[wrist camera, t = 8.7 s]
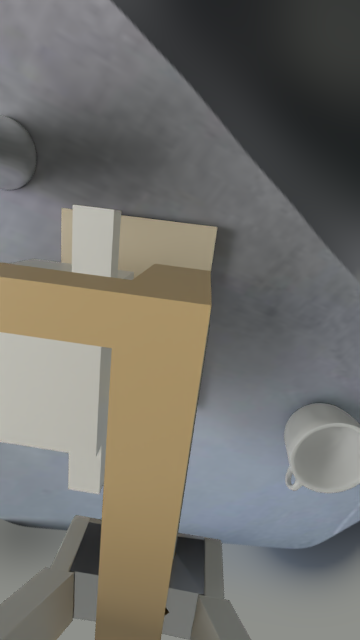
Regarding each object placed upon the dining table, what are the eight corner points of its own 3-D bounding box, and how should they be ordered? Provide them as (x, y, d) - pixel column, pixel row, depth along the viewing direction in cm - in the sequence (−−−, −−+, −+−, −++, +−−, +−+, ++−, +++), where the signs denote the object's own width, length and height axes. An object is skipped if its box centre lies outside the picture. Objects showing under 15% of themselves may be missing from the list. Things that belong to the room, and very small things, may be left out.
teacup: (306, 379, 33) (325, 408, 28) (367, 414, 34) (396, 449, 28) (252, 446, 36) (259, 484, 31) (308, 478, 36) (325, 520, 31)
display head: (66, 390, 36) (-19, 489, 22) (68, 205, 30) (-45, 190, 16) (190, 408, 35) (179, 522, 22) (217, 223, 29) (225, 223, 16)
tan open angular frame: (-53, 613, 14) (-147, 753, 11) (-111, 228, 9) (-328, 231, 6) (155, 653, 14) (135, 814, 10) (212, 271, 9) (214, 305, 5)
